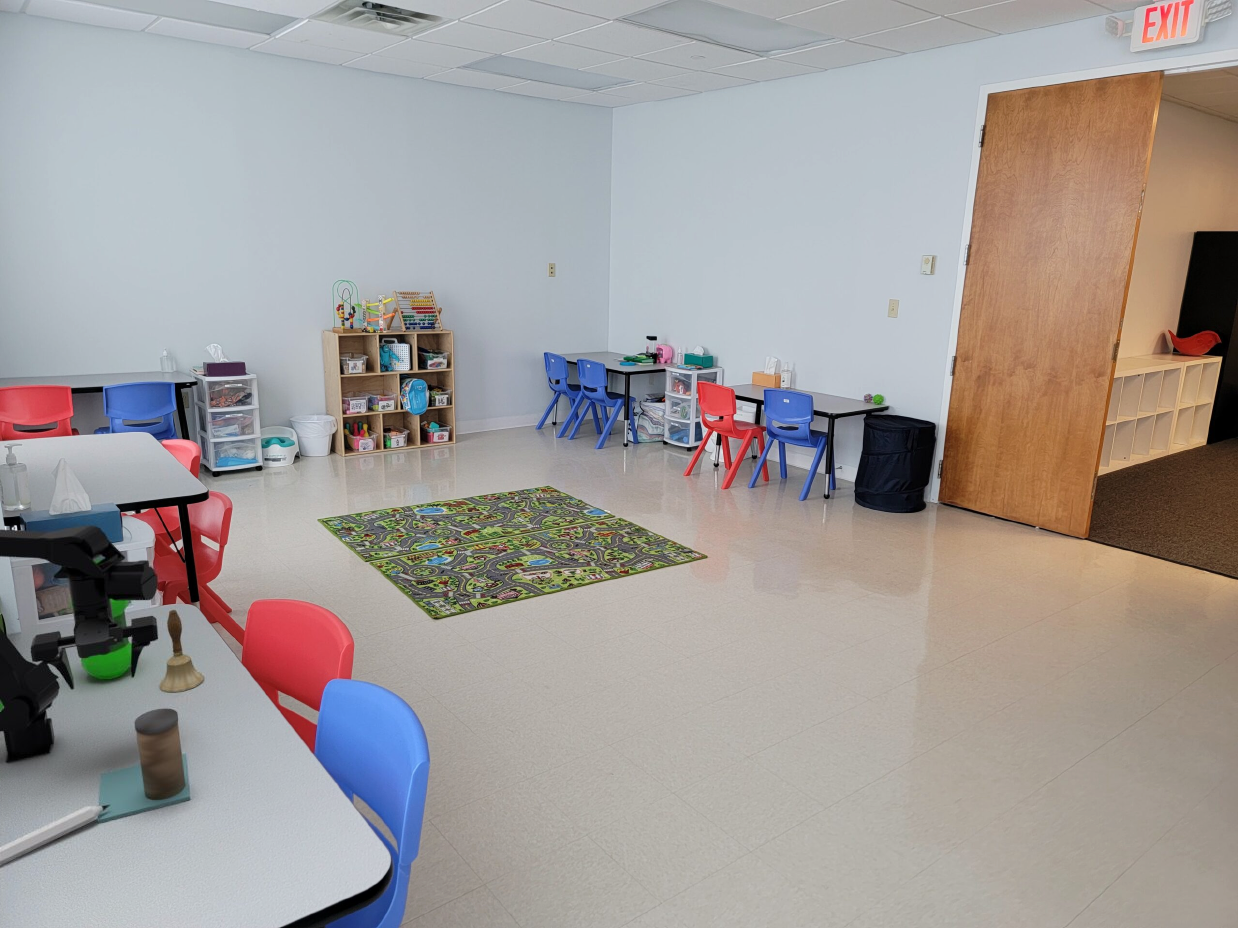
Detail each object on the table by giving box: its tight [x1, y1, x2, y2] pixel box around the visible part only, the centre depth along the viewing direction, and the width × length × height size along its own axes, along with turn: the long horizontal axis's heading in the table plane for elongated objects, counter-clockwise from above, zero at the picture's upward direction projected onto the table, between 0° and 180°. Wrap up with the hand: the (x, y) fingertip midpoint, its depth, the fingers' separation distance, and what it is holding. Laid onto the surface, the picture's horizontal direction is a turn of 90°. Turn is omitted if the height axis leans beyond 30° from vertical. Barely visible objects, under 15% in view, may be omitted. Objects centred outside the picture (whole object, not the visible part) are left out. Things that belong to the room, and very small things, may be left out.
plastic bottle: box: [69, 558, 131, 680], centre depth 179 cm, size 10×10×25 cm
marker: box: [0, 804, 111, 866], centre depth 132 cm, size 3×2×16 cm
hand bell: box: [159, 609, 205, 693], centre depth 177 cm, size 8×8×16 cm
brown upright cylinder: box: [134, 708, 185, 800], centre depth 142 cm, size 6×6×13 cm
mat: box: [97, 753, 191, 824], centre depth 144 cm, size 13×14×1 cm
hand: (103, 682), depth 152 cm, fingers open, 9 cm apart
